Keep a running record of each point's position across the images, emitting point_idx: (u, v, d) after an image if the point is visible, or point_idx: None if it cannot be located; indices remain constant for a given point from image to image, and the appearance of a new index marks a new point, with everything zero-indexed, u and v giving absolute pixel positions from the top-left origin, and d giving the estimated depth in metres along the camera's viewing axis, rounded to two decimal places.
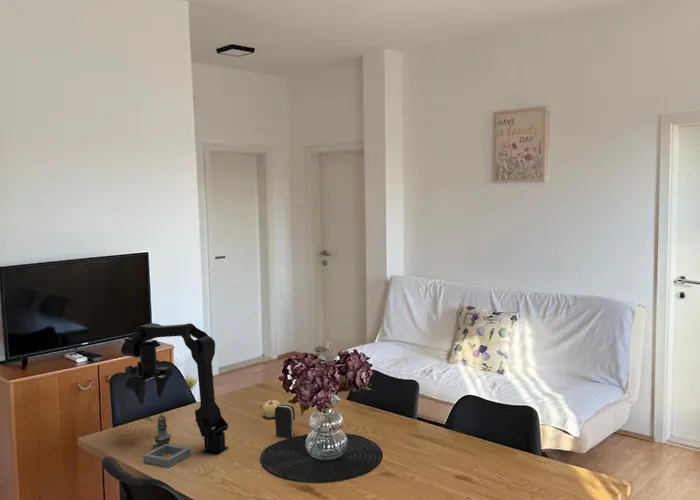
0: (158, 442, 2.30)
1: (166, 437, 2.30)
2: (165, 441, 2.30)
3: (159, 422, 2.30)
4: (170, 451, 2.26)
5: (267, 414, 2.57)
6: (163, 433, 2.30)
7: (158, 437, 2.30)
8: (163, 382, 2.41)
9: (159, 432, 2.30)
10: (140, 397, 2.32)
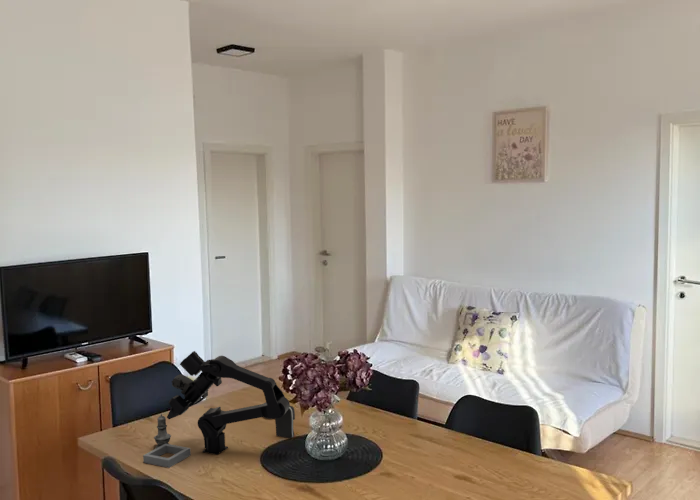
0: (158, 442, 2.30)
1: (166, 437, 2.30)
2: (165, 441, 2.30)
3: (159, 422, 2.30)
4: (170, 451, 2.26)
5: None
6: (163, 433, 2.30)
7: (158, 437, 2.30)
8: (194, 403, 2.33)
9: (159, 432, 2.30)
10: (172, 415, 2.23)
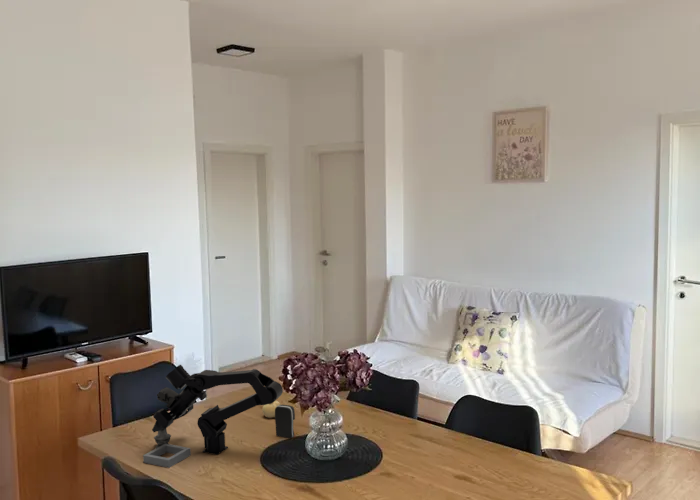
0: (158, 442, 2.30)
1: (166, 437, 2.30)
2: (165, 441, 2.30)
3: None
4: (170, 451, 2.26)
5: (267, 414, 2.57)
6: (163, 433, 2.30)
7: (158, 437, 2.30)
8: (180, 416, 2.35)
9: (159, 432, 2.30)
10: (157, 428, 2.26)
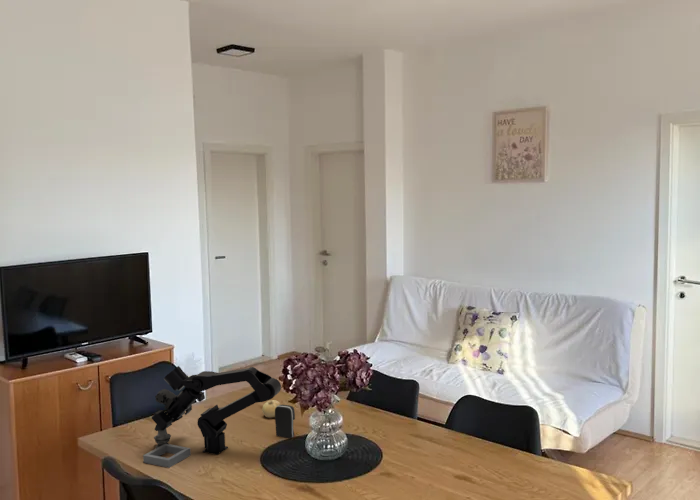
0: (158, 442, 2.30)
1: (166, 437, 2.30)
2: (165, 441, 2.30)
3: None
4: (170, 451, 2.26)
5: (267, 414, 2.57)
6: (163, 433, 2.30)
7: (158, 437, 2.30)
8: (174, 420, 2.33)
9: (159, 432, 2.30)
10: (159, 427, 2.28)
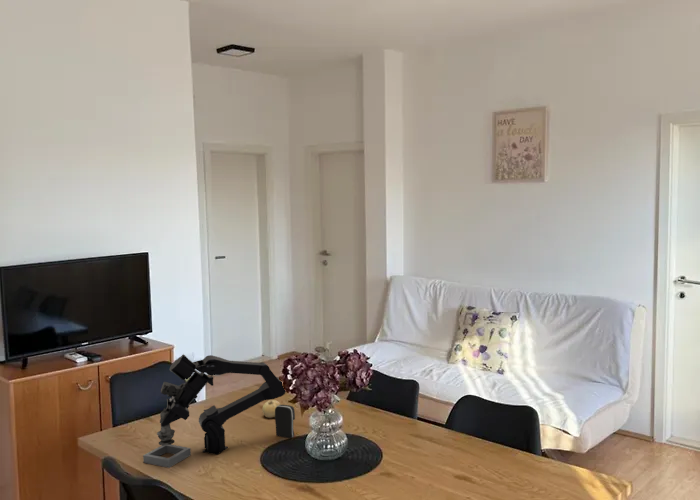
0: (166, 438, 2.18)
1: (172, 431, 2.20)
2: (172, 435, 2.20)
3: (164, 417, 2.19)
4: (170, 451, 2.26)
5: (267, 414, 2.57)
6: (169, 428, 2.20)
7: (165, 433, 2.19)
8: None
9: (165, 427, 2.19)
10: (169, 421, 2.18)
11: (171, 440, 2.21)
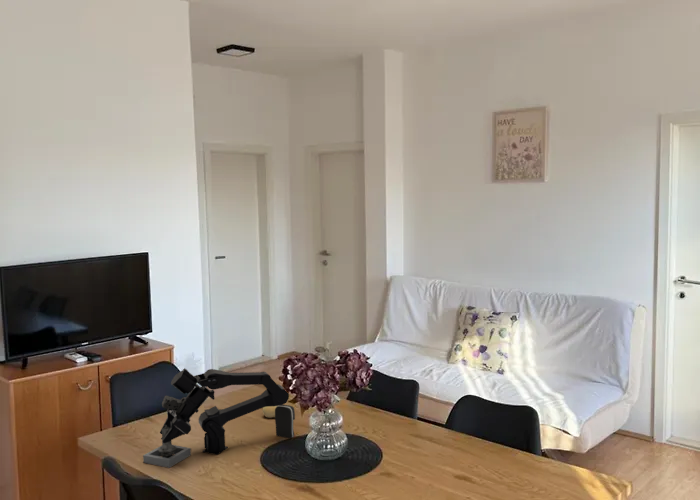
0: (167, 454, 2.19)
1: (173, 447, 2.21)
2: (173, 452, 2.20)
3: (166, 433, 2.19)
4: None
5: (267, 414, 2.57)
6: (170, 444, 2.20)
7: (166, 449, 2.19)
8: None
9: (166, 444, 2.19)
10: (170, 437, 2.16)
11: None
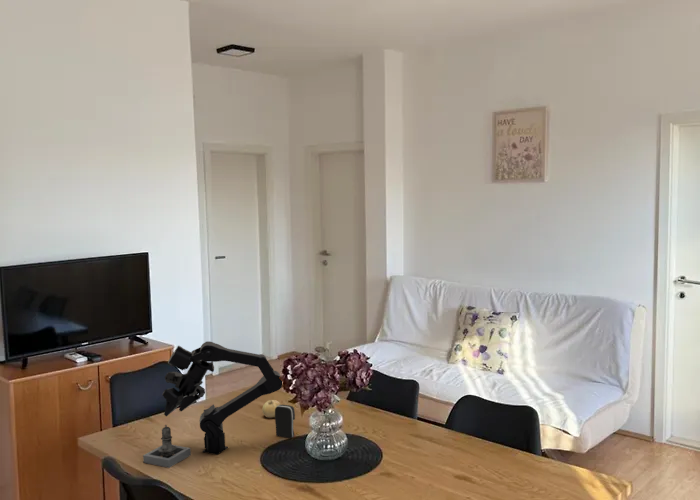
0: (167, 454, 2.19)
1: (173, 447, 2.21)
2: (173, 452, 2.20)
3: (166, 433, 2.19)
4: None
5: (267, 414, 2.57)
6: (170, 444, 2.20)
7: (166, 449, 2.19)
8: (192, 401, 2.29)
9: (166, 444, 2.19)
10: (169, 410, 2.20)
11: None
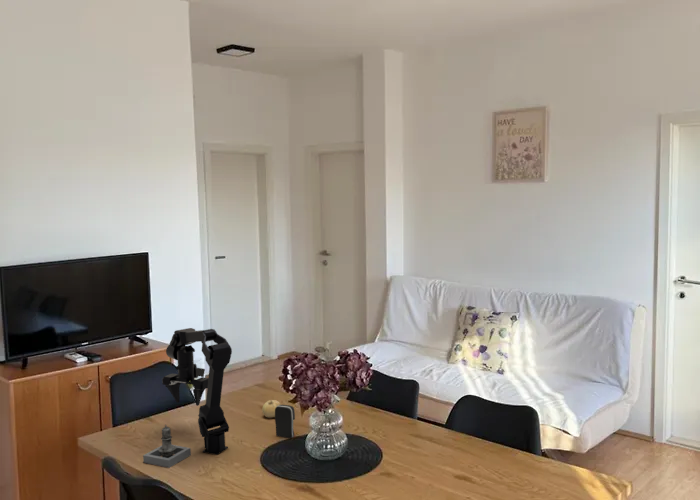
0: (167, 454, 2.19)
1: (173, 447, 2.21)
2: (173, 452, 2.20)
3: (166, 433, 2.19)
4: None
5: (267, 414, 2.57)
6: (170, 444, 2.20)
7: (166, 449, 2.19)
8: None
9: (166, 444, 2.19)
10: None
11: None
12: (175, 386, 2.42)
